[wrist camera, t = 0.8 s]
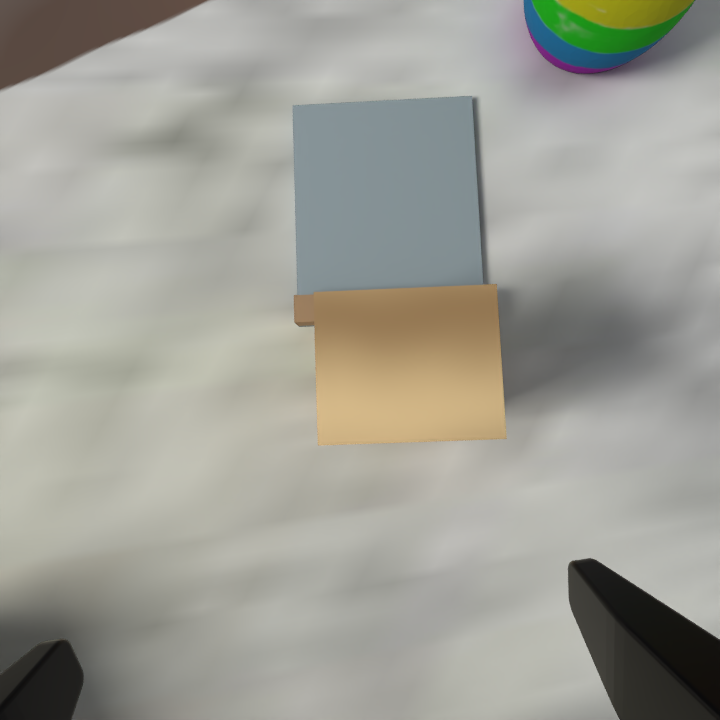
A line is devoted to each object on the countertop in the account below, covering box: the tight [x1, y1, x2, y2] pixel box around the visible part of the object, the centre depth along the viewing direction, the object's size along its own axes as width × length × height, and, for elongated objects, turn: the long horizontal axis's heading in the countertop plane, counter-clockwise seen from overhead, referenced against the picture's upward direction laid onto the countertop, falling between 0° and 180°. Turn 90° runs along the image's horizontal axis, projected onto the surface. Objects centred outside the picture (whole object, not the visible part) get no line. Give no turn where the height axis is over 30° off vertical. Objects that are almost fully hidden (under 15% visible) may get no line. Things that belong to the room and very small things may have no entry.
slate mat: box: [293, 96, 483, 327], centre depth 25 cm, size 12×10×2 cm
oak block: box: [314, 284, 506, 445], centre depth 20 cm, size 5×6×10 cm
